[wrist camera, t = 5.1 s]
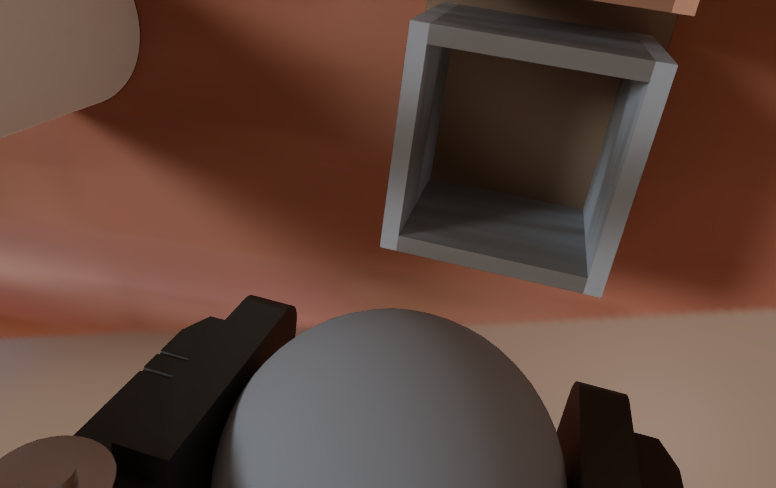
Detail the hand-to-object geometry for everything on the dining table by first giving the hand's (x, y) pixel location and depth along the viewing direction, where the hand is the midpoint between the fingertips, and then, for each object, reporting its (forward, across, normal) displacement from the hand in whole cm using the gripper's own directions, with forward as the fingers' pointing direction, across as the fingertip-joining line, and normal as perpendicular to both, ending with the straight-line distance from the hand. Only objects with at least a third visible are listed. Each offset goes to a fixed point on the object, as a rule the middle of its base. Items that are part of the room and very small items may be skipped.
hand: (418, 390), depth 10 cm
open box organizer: (+18, 0, -5) cm, 19 cm away
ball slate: (0, 0, 0) cm, 0 cm away
